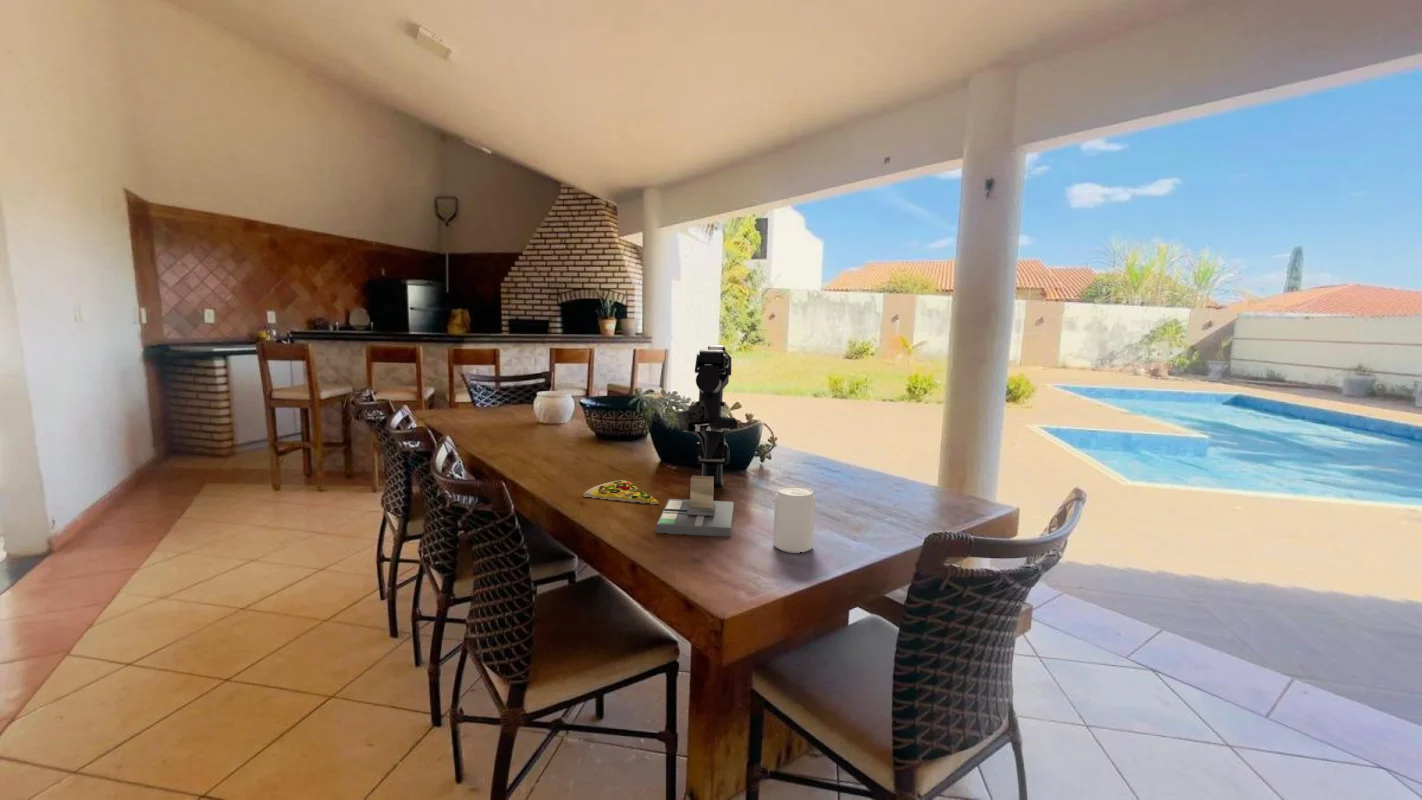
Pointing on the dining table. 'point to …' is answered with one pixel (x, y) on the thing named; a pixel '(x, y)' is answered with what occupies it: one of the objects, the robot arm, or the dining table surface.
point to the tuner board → (696, 520)
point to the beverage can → (794, 519)
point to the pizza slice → (620, 492)
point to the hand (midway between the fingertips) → (707, 459)
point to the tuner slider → (700, 497)
